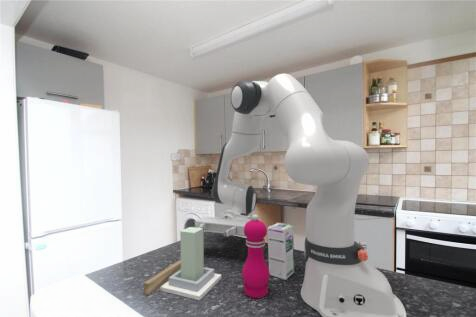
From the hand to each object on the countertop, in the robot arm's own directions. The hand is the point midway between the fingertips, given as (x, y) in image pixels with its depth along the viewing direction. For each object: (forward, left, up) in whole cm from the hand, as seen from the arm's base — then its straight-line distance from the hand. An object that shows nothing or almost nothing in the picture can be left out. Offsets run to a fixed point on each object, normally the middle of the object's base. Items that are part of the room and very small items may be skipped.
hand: (212, 232), depth 78 cm
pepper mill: (-18, +9, -11) cm, 23 cm away
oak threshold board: (+8, +13, -11) cm, 19 cm away
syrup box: (-22, -3, -11) cm, 25 cm away
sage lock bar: (0, +12, -10) cm, 15 cm away
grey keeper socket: (0, +12, -11) cm, 16 cm away
